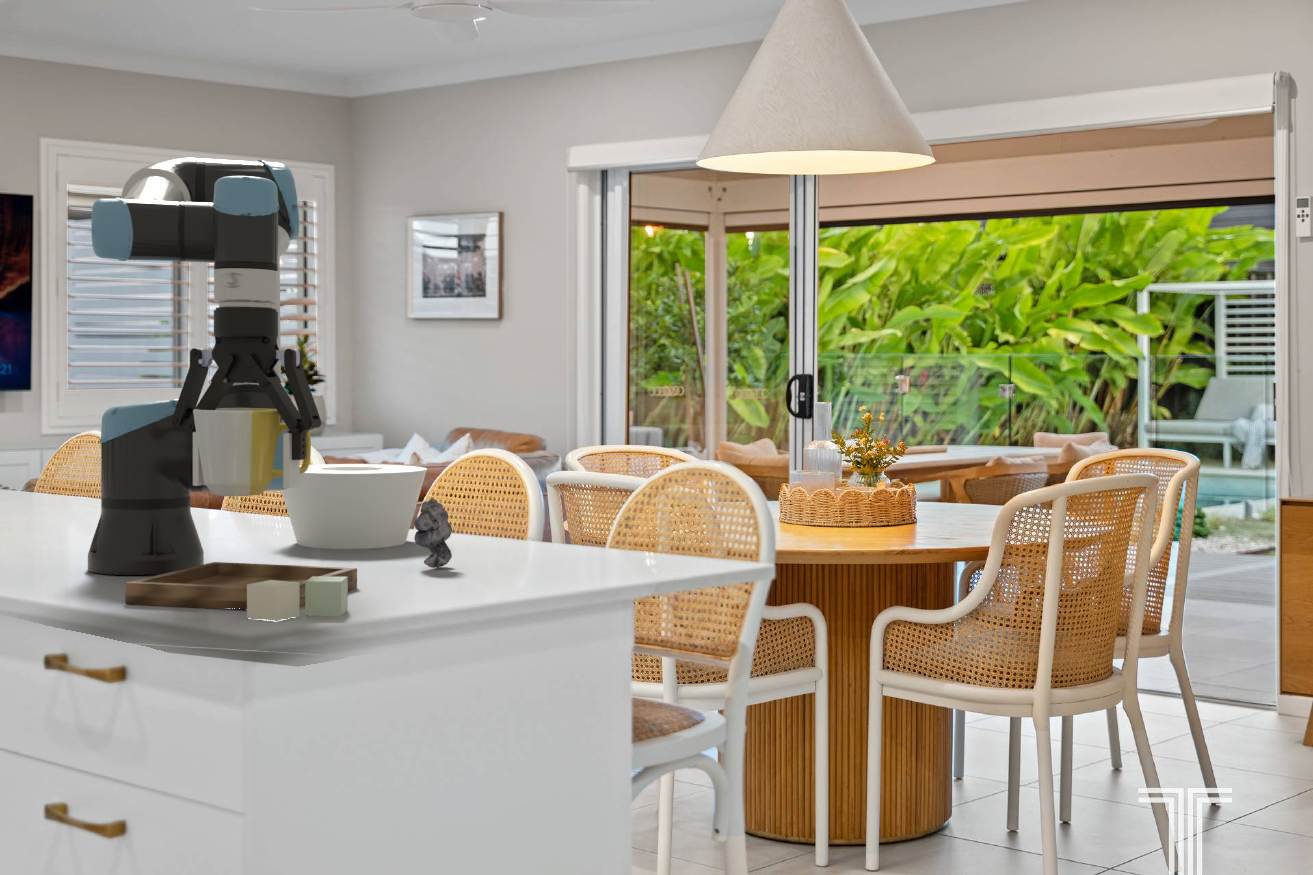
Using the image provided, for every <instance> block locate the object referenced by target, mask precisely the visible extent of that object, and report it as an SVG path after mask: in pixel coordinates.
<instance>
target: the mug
mask: <svg viewBox="0 0 1313 875" xmlns="http://www.w3.org/2000/svg"><path fill="white" fill-rule="evenodd" d="M193 414H194V421H195V428H196V434H197V440H198V447H199V453H200V459H201V466H202V472H203V479H204V483H205V485H206V486H207V487H208V489H209V490H210V491H211V492H210V493H211V494H212V495H213V496H220V497H247V496H248V497H250V496H251V497H252V496H259V495H261V494H262V493H263V491H264V490H265V489H266V488H267V486H268V485H269V484H270V482H271V479H272V478H276V477H283V470H274V469H273V464H274V457H275V450H276V444H277V438H278V435H280V434H281V433H282V432H284V431H286V430H288V427H287V425H286V424H285V423H280V418H281V416H280V414H279V413H278V411H277V409H266V408H216V410H199V409H194V410H193ZM311 451H312V441H311V430H309V431H308V432H307V434H306V457H305V459H304V460H302V464H301V465H302V466H301V465H300V466H301V467H300V474H302V473H304V472H306V471H307V469H308V467H309V465H311V464H310V462H311V457H312V456H311V453H312V452H311ZM264 492H265V491H264Z"/></svg>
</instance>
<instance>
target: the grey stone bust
mask: <svg viewBox="0 0 1313 875" xmlns="http://www.w3.org/2000/svg"><path fill="white" fill-rule="evenodd" d="M449 519H450V518H449V513H448V511H447V510H446V509H445V508H444V506H443V503H440V502H438V501H437V500H436V499H435V498H434V497H433V496H432V497H430V499H429V500H427V501H423V502H422V503H421V507H420V514H419V516H417V517H416V518H415V519H414V522H413V525H414V527H415V529H416V530H417V531H416V532H415V534H414V538H413V539H414V542H415V544H416V545H418V546H419V547H422V548H426V549H427V550H429V551H430V552H431V553H430V555H429V556H428V557H427V558H425V560H424V561H423V564H424V565H425V566H428V568H430V569H434V568H436V569H438V568H441V567H444V566H445V565H448V563H449V562H450V560H451V559H452V558H453V556H452V551H451V549H450V547H449V545H448V544H447V543H446V541H448V539H450V537H451V535H452V532H453V528H452V525H451V524H450V523H449Z"/></svg>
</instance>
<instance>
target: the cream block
mask: <svg viewBox="0 0 1313 875" xmlns="http://www.w3.org/2000/svg"><path fill="white" fill-rule="evenodd" d="M291 617H298V618H300V606H299V582H289V581H277V580H267V581H262V582H257V583H252V584H247V610H246V619H247V618H251V619H266V620H267V619H268V620H275V621H278V620H281V619H288V618H291Z"/></svg>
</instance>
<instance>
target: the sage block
mask: <svg viewBox="0 0 1313 875" xmlns="http://www.w3.org/2000/svg"><path fill="white" fill-rule="evenodd" d="M348 596H349V595H348V577H314V576H313V577H311V578H310V579H308V580H307V581H305V605H304V606H305V610H304V611H305V613H304V614H305V615H313V616H312V617H342V616H343V615H345V613H346V612H348V611H347V610H348V607H349V606H348V605H349V604H348V601H349V600H348ZM316 615H317V616H316Z"/></svg>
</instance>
